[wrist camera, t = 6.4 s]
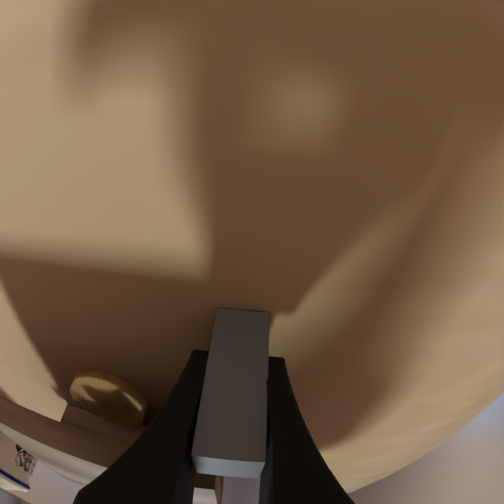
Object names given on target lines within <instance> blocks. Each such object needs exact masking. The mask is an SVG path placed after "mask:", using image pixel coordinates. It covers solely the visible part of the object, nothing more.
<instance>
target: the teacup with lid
mask: <svg viewBox="0 0 504 504" xmlns="http://www.w3.org/2000/svg"><path fill="white" fill-rule="evenodd" d="M36 463H37V459H36V458H34V457H33V456H32V455H30V454H29V453H28V452H26V451H25V450H24V449H23V448H21V447H20V446H19V445H18V444H16V443H15V442H14V441H13V440H11V439H10V438H9V437H8V436H7V435H6V434H4V433H3V432H2V431H1V430H0V488H1V487H2V488H4V489H6V490H21V491H25V492H27V491H28V489H30V487H29V484H30V481H31V478H32V475H33V472H34V469H35V466H36Z"/></svg>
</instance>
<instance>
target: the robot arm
mask: <svg viewBox="0 0 504 504" xmlns="http://www.w3.org/2000/svg"><path fill="white" fill-rule="evenodd" d="M208 356H209V351H203V350H193V351H192V353H191V355H190V358H189V360H188V362H187V364H186V366H185V368H184V370H183V372H182V374H181V376H180V378H179V379H178V381H177V383H176V385H175V386H174V388H173V389H172V391H171V393H170V394H169V396H168V398H167V399H166V401H165V402H164V404H163V405H162V407H161V408H160V409H159V411H158V412H157V414H156V415H155V417H154V418H153V419H152V421H151V422H150V423H149V425H148V426H147V427H146V428H145V430H144V431H143V432H142V433H141V434H140V436H139V437H138V438H137V439H136V440H135V441H134V442H133V444H132V445H131V446H130V447H129V448H128V449H127V450H126V451H125V452H124V453H123V454H122V455H121V456H120V457H119V458H118V459H117V460H116V461H115V462H114V463H113V464H112V465H110V466H109V467H108V468H107V469H106V470H105V471H104V472H103V473H101V474H100V475H99V476H98V477H97V478H95V479H94V480H93V481H91V482H90V483H89V484H87V485H86V486H85V487H83V488H82V489H81V490H79V492H78V494H77V495H76V497H75V500H74V502H73V504H193V495H194V485H195V476H196V468H195V465H194V462H193V459H192V456H191V453H192V447H193V441H194V435H195V429H196V423H197V417H198V412H199V406H200V400H201V394H202V389H203V383H204V379H205V375H206V374H205V372H206V366H207V361H208ZM266 384H267V395H268V396H267V430H266V459H265V465H264V467H263V469H262V472H261V474H260V477H259V479H258V478H242V477H230V476H224V485H223V495H222V504H355V503H354V502H353V501H352V500H351V498H350V497H349V496H348V495H347V493H346V492H345V491H344V489H343V488H342V487H341V485H340V484H339V482H338V481H337V479H336V478H335V477H334V475H333V474H332V472H331V471H330V469H329V468H328V466H327V464H326V463H325V461H324V459H323V458H322V456H321V454H320V452H319V451H318V449H317V447H316V445H315V443H314V441H313V439H312V437H311V435H310V433H309V431H308V429H307V427H306V424H305V422H304V420H303V417H302V415H301V413H300V410H299V407H298V405H297V402H296V399H295V397H294V394H293V391H292V387H291V384H290V381H289V377H288V373H287V369H286V364H285V359H284V358H282V357H268V380H266ZM0 504H31V503H29V502H27V501H25V500H23V499H22V498H20V497H18V496H16V495H14V494H12V493H9V492H7V491H5V490H4V489H2V488H0Z"/></svg>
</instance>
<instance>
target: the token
mask: <svg viewBox="0 0 504 504" xmlns="http://www.w3.org/2000/svg"><path fill="white" fill-rule="evenodd" d="M70 394H71V396H72V398H73V399H74V400H75V401H76V402H77V403H78V404H79V405H80V406H81V407H83V408H84V409H85V410H87V411H88V412H90V413H92V414H94V415H95V416H97V417H99V418H102V419H104V420H107V421H109V422H113V423H116V424H120V425H128V426H134V425H139V424H141V423H142V422H143V419H144V415H145V411H146V407H147V399H146V397H145V395H144V394H143V393H142V392H141V391H140V390H139V389H138V388H137V387H135V386H134V385H132V384H131V383H129V382H128V381H126V380H124V379H122V378H121V377H118V376H116V375H114V374H111V373H109V372H106V371H103V370H99V369H93V368H83V369H80V370H79V371H78V372H77V373H76V376H75V378H74V380H73V382H72V385H71V387H70Z"/></svg>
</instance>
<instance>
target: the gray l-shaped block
mask: <svg viewBox="0 0 504 504" xmlns="http://www.w3.org/2000/svg"><path fill="white" fill-rule="evenodd" d="M268 354H269V312H258V311H247V310H236V309H225V308H217V313H216V318H215V324H214V329H213V334H212V339H211V345H210V350H209V356H208V361H207V366H206V372H205V374H206V375H205V379H204V383H203V389H202V394H201V400H200V406H199V412H198V417H197V423H196V429H195V435H194V441H193V447H192V453H191V456H192V459H193V462H194V465H195V468H196V471H197V473H204V474H211V475H220V476H230V477H242V478H258V479H259V477H260V474H261V472H262V469H263V467H264V465H265V459H266V430H267V396H268V395H267V384H266V380H268Z"/></svg>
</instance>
